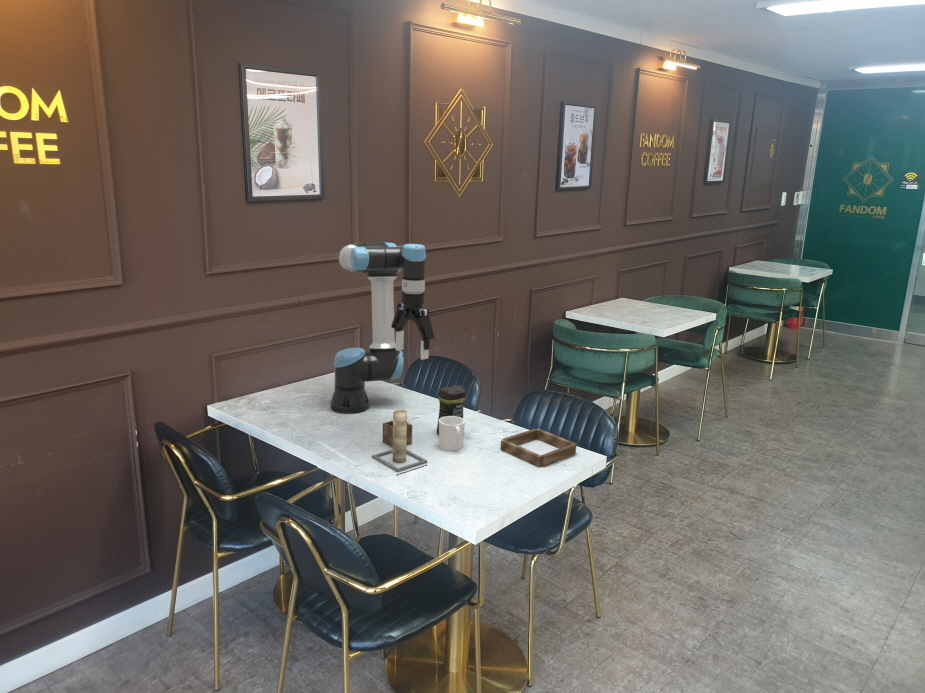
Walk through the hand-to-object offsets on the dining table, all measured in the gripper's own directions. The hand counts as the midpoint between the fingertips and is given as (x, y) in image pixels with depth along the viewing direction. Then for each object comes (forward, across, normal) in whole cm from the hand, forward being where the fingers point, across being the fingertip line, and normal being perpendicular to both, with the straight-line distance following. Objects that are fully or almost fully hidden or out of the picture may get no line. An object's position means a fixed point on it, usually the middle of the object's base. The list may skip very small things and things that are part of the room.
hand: (411, 354), depth 237 cm
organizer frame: (+33, +31, +32) cm, 55 cm away
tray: (+33, +10, -12) cm, 36 cm away
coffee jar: (+33, +2, +17) cm, 37 cm away
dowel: (+32, +10, -12) cm, 36 cm away
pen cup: (+33, -2, -4) cm, 33 cm away
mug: (+33, +12, +9) cm, 36 cm away
